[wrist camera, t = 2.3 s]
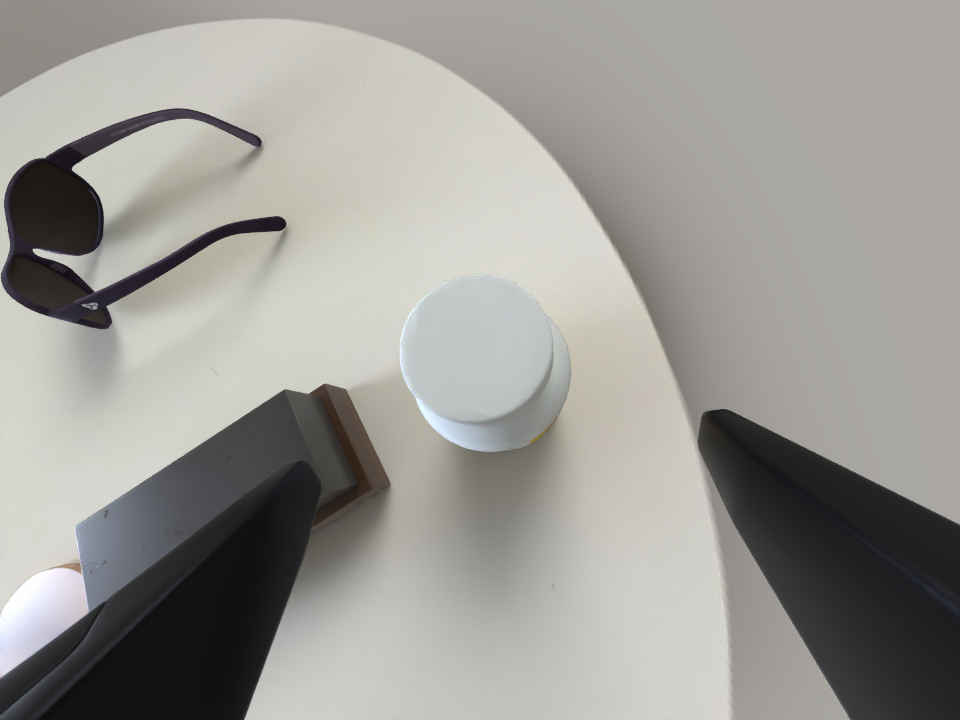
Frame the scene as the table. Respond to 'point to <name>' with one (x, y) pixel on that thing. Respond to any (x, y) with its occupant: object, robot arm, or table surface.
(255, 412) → the sharpening stone
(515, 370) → the supplement bottle
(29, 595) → the cork coaster
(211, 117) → the sunglasses
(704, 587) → the table surface
